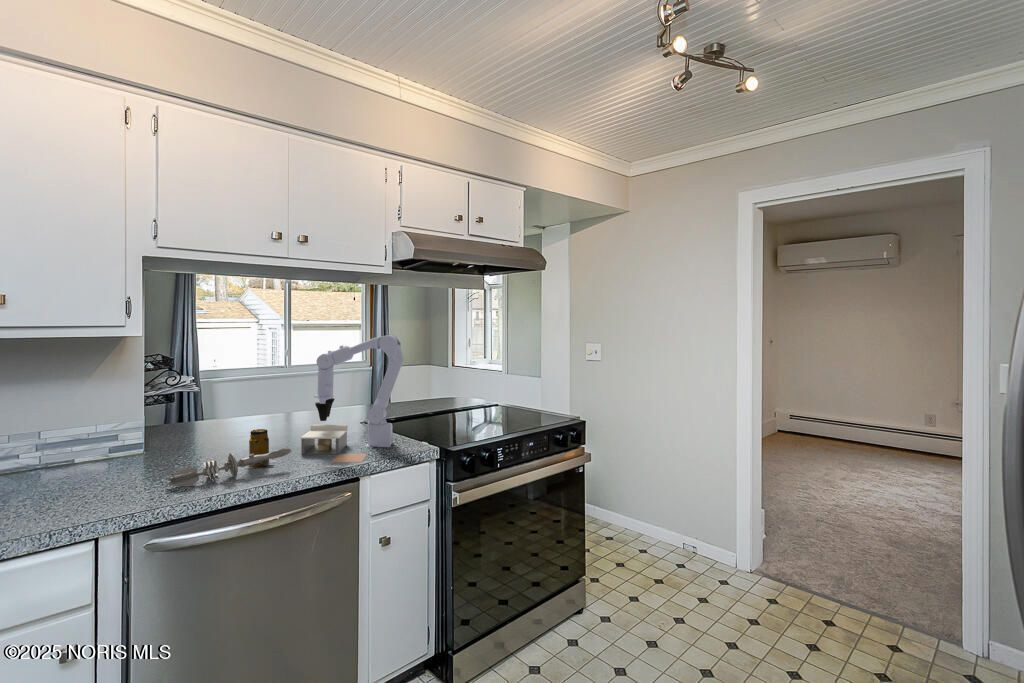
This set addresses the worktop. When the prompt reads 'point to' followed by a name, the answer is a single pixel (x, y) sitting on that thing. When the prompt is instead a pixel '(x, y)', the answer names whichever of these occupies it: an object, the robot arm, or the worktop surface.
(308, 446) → the case
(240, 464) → the spaceship
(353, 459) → the tile
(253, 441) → the condiment
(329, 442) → the block
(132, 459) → the worktop surface
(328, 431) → the cover
